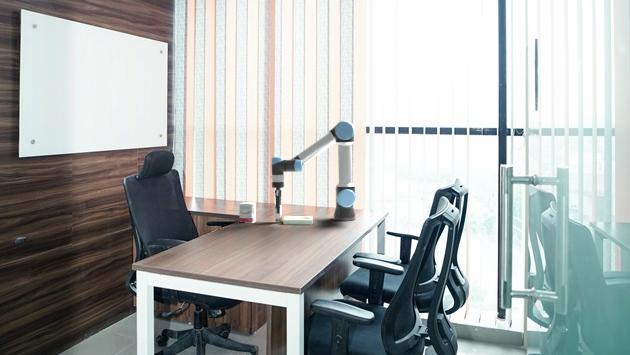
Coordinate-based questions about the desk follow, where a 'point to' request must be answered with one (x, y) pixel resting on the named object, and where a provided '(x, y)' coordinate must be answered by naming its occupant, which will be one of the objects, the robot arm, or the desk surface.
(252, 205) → the ink box
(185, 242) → the desk surface
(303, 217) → the socket board
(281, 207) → the peg
